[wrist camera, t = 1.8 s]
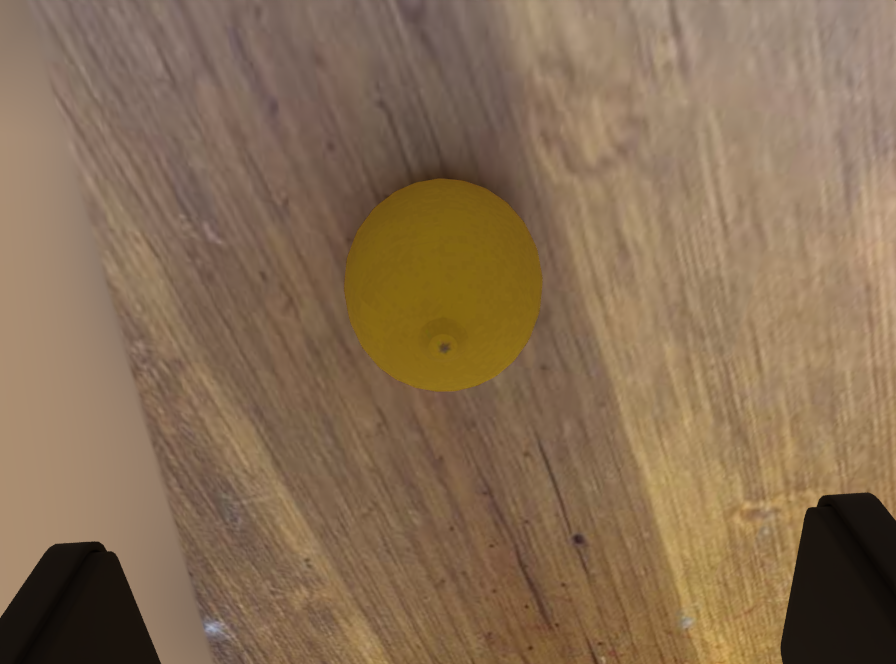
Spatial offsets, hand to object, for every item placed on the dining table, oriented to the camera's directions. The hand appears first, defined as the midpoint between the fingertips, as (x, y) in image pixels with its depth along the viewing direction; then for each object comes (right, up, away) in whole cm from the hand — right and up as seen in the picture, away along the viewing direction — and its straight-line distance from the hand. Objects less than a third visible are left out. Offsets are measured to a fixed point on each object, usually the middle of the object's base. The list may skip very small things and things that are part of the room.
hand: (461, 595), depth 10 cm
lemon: (0, +7, +14) cm, 16 cm away
